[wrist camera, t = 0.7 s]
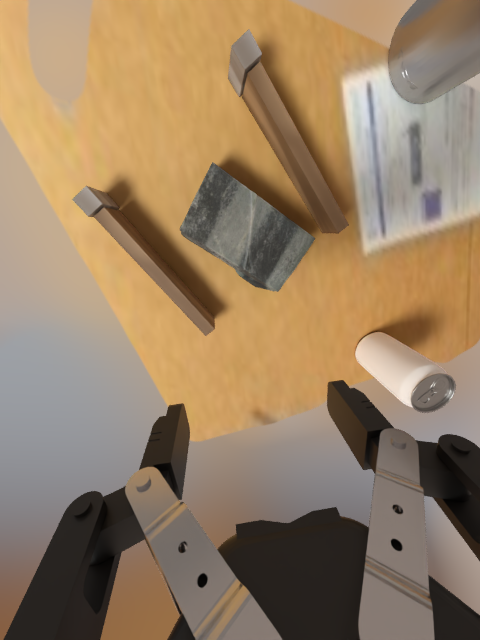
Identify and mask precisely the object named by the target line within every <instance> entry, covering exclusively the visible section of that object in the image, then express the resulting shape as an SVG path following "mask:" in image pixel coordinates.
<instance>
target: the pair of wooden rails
mask: <svg viewBox="0 0 480 640" xmlns="http://www.w3.org/2000/svg"><path fill="white" fill-rule="evenodd" d="M261 56H262V52H261V50H260V49H259V47H258V45H257V43H256V41H255V39H254V37H253V35H252V34H251V32H250V30H248V31H246V32H245V33H244V34H243V35H242V36H241V37H240V38H239V39H238V40H237V41H236V42H235V43H234V44H233V45H232V46H231V55H230V64H229V74H228V79H229V81H230V83H231V84H232V86H233V88H234V89H235V91H236V93H237V94H238V96H239V97H240V96H241V95H242V94H243V96H242V98H243V100H244V102H245V103H246V105H247V107H248V108H249V110H250V112H251V113H252V115H253V117H254V118H255V120H256V122H257V123H258V125H259V127H260V129H261V130H262V132H263V134H264V135H265V137H266V139H267V140H268V142H269V144H270V145H271V147H272V149H273V150H274V152H275V154H276V156H277V157H278V159H279V161H280V162H281V164H282V166H283V167H284V169H285V171H286V172H287V174H288V176H289V178H290V179H291V181H292V183H293V184H294V186H295V188H296V189H297V191H298V193H299V194H300V196H301V198H302V199H303V201H304V203H305V205H306V206H307V208H308V210H309V211H310V213H311V215H312V216H313V218H314V220H315V221H316V223H317V225H318V226H319V228H320V230H321V232H322V233H339V232H341V231H342V230H343V229H345V228H346V227H347V226H348V225H349V224H348V222H347V221H346V219H345V217H344V215H343V213H342V211H341V210H340V208H339V206H338V204H337V202H336V200H335V198H334V197H333V195H332V193H331V191H330V189H329V187H328V186H327V184H326V182H325V180H324V178H323V176H322V174H321V173H320V171H319V169H318V167H317V165H316V163H315V162H314V160H313V158H312V156H311V154H310V152H309V151H308V149H307V147H306V145H305V143H304V141H303V139H302V138H301V136H300V134H299V132H298V130H297V128H296V127H295V125H294V123H293V121H292V119H291V117H290V115H289V114H288V112H287V110H286V108H285V106H284V104H283V103H282V101H281V99H280V97H279V95H278V93H277V91H276V90H275V88H274V86H273V84H272V82H271V80H270V79H269V77H268V75H267V73H266V71H265V69H264V67H263V66H262V64H261V62H260V59H261ZM72 200H73V201H74V202H75V203H76V204H77V205H78V206H79V207H80V208H81V209H82V210H83V211H84V212H85V213H86V215H87V216H88V217H94V218H95V219H96V220H97V221H98V222H99V223H100V224H101V225H102V226H103V227H104V228H105V229H106V230H107V231H108V232H109V234H110V235H111V236H112V237H113V238H114V239H115V240H116V241H117V242H118V243H119V244H120V245H121V246H122V247H123V248H124V249H125V251H126V252H127V253H128V254H129V255H130V256H131V257H132V258H133V259H134V260H135V261H136V262H137V263H138V264H139V265H140V267H141V268H142V269H143V270H144V271H145V272H146V273H147V274H148V275H149V276H150V277H151V278H152V279H153V280H154V281H155V282H156V284H157V285H158V286H159V287H160V288H161V289H162V290H163V291H164V292H165V293H166V294H167V295H168V296H169V297H170V298H171V300H172V301H173V302H174V303H175V304H176V305H177V306H178V307H179V308H180V309H181V310H182V311H183V312H184V313H185V314H186V316H187V317H188V318H189V319H190V320H191V321H192V322H193V323H194V324H195V325H196V326H197V327H198V328H199V329H200V330H201V331H202V333H203V334H204V335H205V336H206V335H208V334H209V333H210V332H212V331H213V330H214V329H215V321H214V316H213V315H212V314H211V313H210V312H209V311H208V310H207V309H206V307H205V306H204V305H203V304H202V303H201V302H200V301H199V300H198V298H197V297H196V296H195V295H194V294H193V293H192V292H191V291H190V289H189V288H188V287H187V286H186V285H185V284H184V283H183V282H182V281H181V279H180V278H179V277H178V276H177V275H176V274H175V273H174V272H173V270H172V269H171V268H170V267H169V266H168V265H167V264H166V263H165V261H164V260H163V259H162V258H161V257H160V256H159V255H158V254H157V252H156V251H155V250H154V249H153V248H152V247H151V246H150V245H149V243H148V242H147V241H146V240H145V239H144V238H143V237H142V236H141V234H140V233H139V232H138V231H137V230H136V229H135V228H134V227H133V225H132V224H131V223H130V222H129V221H128V220H127V219H126V218H125V216H124V215H123V214H122V213H121V212H120V211H119V210H118V209H119V207H118V206H117V204H116V203H115V202H114V201H113V200H112V199H111V198H110V197H109V195H108V194H107V193H105V192H102V191H99V190H96V189H93V188H91V187H88V186H86V187H84V188H83V189H82V190H81V191H80V192H79V193H78V194H77V195H76V196H75V197H74V198H73V199H72Z"/></svg>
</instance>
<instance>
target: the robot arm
mask: <svg viewBox="0 0 480 640" xmlns="http://www.w3.org/2000/svg"><path fill="white" fill-rule="evenodd" d="M388 64H389V74H390V77H391V81H392V84H393V86H394V88H395V90H396V91H397V92H398V94H399V95H400V96H401V97H402V98H404V99H405V100H407V101H408V102H412V103H415V104H423V103H426V102H430V101H432V100H434V99H436V98H438V97H439V96H441V95H443V94H445V93H446V92H448V91H450V90H451V89H453V88H455V87H456V86H458V85H460V84H462V83H463V82H465V81H467V80H468V79H470V78H472V77H474V76H475V75H477V74H479V73H480V0H417V1H416V2H415V3H414V4H413V5H412V6H411V7H410V9H409V10H408V11H407V12H406V13H405V15H404V16H403V17H402V18H401V20H400V22H399V24H398V26H397V27H396V29H395V32H394V35H393V37H392V41H391V45H390V50H389V61H388ZM327 407H328V411H329V414H330V416H331V418H332V419H333V421H334V422H335V424H336V426H337V428H338V429H339V431H340V433H341V434H342V436H343V438H344V439H345V441H346V443H347V444H348V446H349V447H350V449H351V451H352V452H353V454H354V456H355V457H356V459H357V461H358V462H359V464H360V466H361V467H362V469H363V470H367V469H372V470H373V471H374V473H375V478H374V487H373V495H372V502H371V511H370V520H369V527H367V526H365V525H364V524H362V523H360V522H358V521H355V520H353V519H350V518H346V517H342V516H340V515H339V512H338V510H337V508H336V507H334V508H328V509H322V510H317V511H312V512H310V513H308V514H306V515H304V516H302V517H300V518H298V519H296V520H295V521H293V522H291V523H280V522H272V521H264V520H259V521H253V522H248V523H242V524H237V525H236V533H237V534H235V535H234V536H232V537H230V538H229V539H228V540H226V541H225V542H224V543H223V544H222V545H221V546H220V547H219V548H218V549H216V547H215V546H214V544H213V543H212V542H211V540H210V539H209V537H208V536H207V534H206V533H205V532H204V530H203V529H202V527H201V526H200V524H199V523H198V521H197V520H196V519H195V517H194V516H193V514H192V513H191V511H190V510H189V509H188V507H187V506H186V504H185V503H184V502H180V501H179V500H181V499H182V494H183V486H184V478H185V470H186V462H187V454H188V446H189V438H190V429H189V423H188V419H187V415H186V411H185V406H184V404H183V403H182V404H176V405H169V407H168V410H167V414H166V416H162V417H159V418H158V420H157V421H156V422H155V424H154V425H153V428H152V431H151V435H150V437H149V440H148V441H149V442H148V443H147V447H146V450H145V453H144V456H143V459H142V463H141V465H140V469H139V471H137V472H136V473H135V474H133V475H132V476H131V478H130V479H129V481H128V482H127V484H126V486H125V487H123V488H121V489H119V490H117V491H115V492H113V493H111V494H109V495H106V496H104V497H103V496H102V494H101V493H100V492H97V491H91V492H87V493H85V494H83V495H81V496H80V497H78V498H77V499H76V500H74V501H73V502H72V503H71V504H70V505H69V507H68V508H67V509H66V511H65V513H64V515H63V517H62V519H61V521H60V523H59V525H58V527H57V529H56V531H55V533H54V535H53V538H52V540H51V542H50V544H49V546H48V548H47V550H46V552H45V554H44V557H43V559H42V560H41V563H40V565H39V567H38V569H37V571H36V573H35V575H34V577H33V580H32V582H31V584H30V586H29V588H28V590H27V592H26V594H25V596H24V598H23V600H22V602H21V605H20V606H19V609H18V611H17V613H16V615H15V617H14V619H13V621H12V623H11V625H10V627H9V629H8V632H7V634H6V636H5V638H4V640H100V638H101V634H102V630H103V626H104V622H105V618H106V614H107V610H108V605H109V601H110V597H111V593H112V589H113V585H114V581H115V577H116V572H117V568H118V564H119V560H120V556H121V552H122V551H124V550H126V549H128V548H129V547H131V546H133V545H135V544H137V543H138V542H140V541H142V540H144V539H145V541H146V543H147V546H148V548H149V550H150V552H151V554H152V556H153V558H154V560H155V563H156V565H157V567H158V569H159V571H160V573H161V575H162V578H163V580H164V582H165V584H166V586H167V589H168V591H169V593H170V596H171V598H172V600H173V602H174V604H175V606H176V609H177V611H178V613H179V615H180V617H179V619H178V621H177V622H176V624H175V626H174V628H173V630H172V632H171V634H170V636H169V638H168V639H167V640H480V615H479V614H477V613H476V612H475V611H474V610H472V609H471V608H470V607H468V606H467V605H466V604H465V603H463V602H462V601H461V600H460V599H458V598H457V597H456V596H455V595H453V594H452V593H450V591H448V590H447V589H446V588H445V587H443V586H442V585H441V584H439V583H438V582H437V581H436V580H435V579H433V578H432V577H430V576H429V575H428V564H427V546H426V527H425V510H424V496H430V497H433V498H434V500H435V501H436V502H437V504H438V505H439V506H440V508H441V509H442V510H443V512H444V513H445V515H446V516H447V517H448V519H449V520H450V521H451V523H452V524H453V525H454V527H455V528H456V530H457V531H458V532H459V534H460V535H461V536H462V537H463V539H464V540H465V542H466V543H467V544H468V546H469V547H470V549H471V550H472V551H473V553H474V554H475V555H476V557H477V558H478V559H479V561H480V448H479V447H478V446H477V445H475V444H474V443H472V442H471V441H469V440H467V439H465V438H463V437H460V436H457V435H451V434H446V435H442V436H441V437H440V438H439V440H438V443H432V442H423V441H417V440H415V439H414V438H413V437H412V436H411V435H409V434H408V433H406V432H404V431H402V430H399V429H395V428H394V427H393V426H392V425H391V424H390V423H389V422H388V421H387V420H386V418H385V417H384V416H383V415H382V414H381V413H380V412H379V410H378V409H377V408H375V406H374V405H373V404H372V402H370V400H369V399H368V398H367V397H366V396H365V395H364V393H362V392H360V391H359V390H357V389H355V388H351V389H350V388H349V386H348V385H347V384H346V383H345V382H344V381H343V380H339V381H332V382H329V383H328V394H327Z"/></svg>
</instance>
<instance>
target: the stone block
mask: <svg viewBox="0 0 480 640" xmlns="http://www.w3.org/2000/svg"><path fill="white" fill-rule="evenodd" d="M180 231H181V234H182V235H183V236H184V237H185V238H187V239H188V240H190V241H191V242H193V243H195V244H196V245H198V246H200V247H201V248H203V249H204V250H206V251H208V252H209V253H211V254H212V255H214V256H216V257H217V258H219V259H221V260H222V261H224V262H225V263H227V264H228V265H230V266H231V267H233V268H234V269H235V270H236V272H237V273H238V275H239V276H240V277H242V278H243V279H245V280H246V281H248V282H249V283H251V284H252V285H253V286H255V287H259V288H263V289H267V290H271V291H279V290H280V289H281V287H282V286H283V284H284V283H285V281H286V280H287V279H288V277H289V276H290V275H291V274H292V273H293V271H294V270H295V268H296V267H297V265H298V264H299V262H300V261H301V259H302V257H303V256H304V255H305V253H306V252H307V250H308V249H309V247H310V246H311V244H312V243H313V241H314V240H315V238H314V237H313V236H311V235H310V234H309V233H307V232H306V231H305V230H303V229H302V228H301V227H299V226H298V225H297V224H295V223H294V222H293V221H291V220H290V219H288V218H287V217H286V216H284V215H283V214H282V213H280V212H279V211H278V210H277V209H275V208H274V207H273V206H271V205H270V204H269V203H267V202H266V201H265V200H263V199H262V198H261V197H259V196H258V195H257V194H256V193H254V192H253V191H251V190H249V189H248V188H247V187H245V186H244V185H243V184H241V183H240V182H239V181H237V180H236V179H235V178H233V177H232V176H231V175H229V174H228V173H227V172H225V171H224V170H223V169H221V168H220V167H219V166H217V165H216V164H214V163H213V162H212V164H211V166H210V168H209V170H208V172H207V174H206V176H205V178H204V180H203V182H202V184H201V186H200V188H199V190H198V192H197V194H196V196H195V198H194V200H193V202H192V204H191V206H190V209H189V211H188V213H187V215H186V217H185V219H184V221H183V223H182V225H181V227H180Z"/></svg>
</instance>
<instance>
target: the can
mask: <svg viewBox="0 0 480 640" xmlns="http://www.w3.org/2000/svg"><path fill="white" fill-rule="evenodd" d="M355 355H356V359H357V361H358V362H359V364H360V365H362V366H363V367H364V368H365V369H366V370H367V371H368V372H369V373H370V374H371V375H372V376H374V377H375V378H376V379H377V380H378V381H379V382H380V383H381V384H383V386H385V387H386V388H387V389H388V390H389V391H390V392H391V393H392V394H393V395H395V396H396V397H397V398H398V399H399V400H400V401H401V402H403V403H404V404H405V405H407V406H410V407H413V408H414V409H415V410H417V411H419V412H422V413H429V412H433V411H436V410H438V409H440V408H442V407H443V406H445V405H446V404H447V403H448V402H449V401H450V400H451V398H452V397H453V395H454V392H455V388H456V384H455V381H454V380H453V378H452V377H451V376H449V375H448V374H447V373H446V371H445V370H444V369H443V368H442V367H441V366H439V365H438V364H436V363H435V362H433V361H431V360H430V359H428V358H426V357H425V356H423V355H421V354H420V353H418V352H416V351H415V350H413V349H411V348H410V347H408V346H406V345H405V344H403V343H401V342H399V341H398V340H396V339H394V338H393V337H391V336H389V335H387V334H385V333H382V332H375V333H371V334H369V335H367V336H365V337H364V338H363V339H362V340H361V341H360V342H359V343H358V345H357V348H356V353H355Z"/></svg>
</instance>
